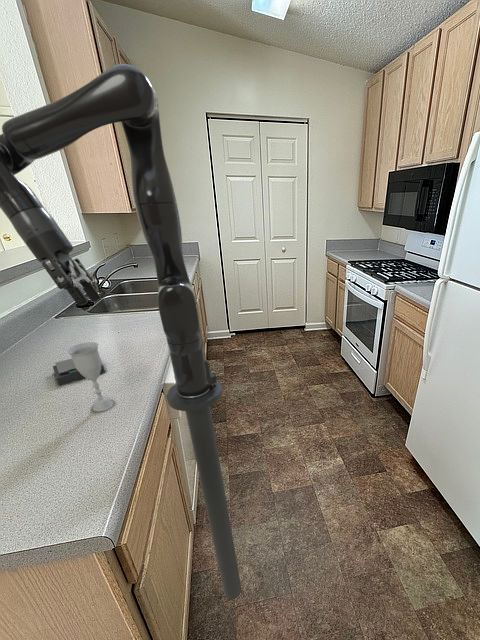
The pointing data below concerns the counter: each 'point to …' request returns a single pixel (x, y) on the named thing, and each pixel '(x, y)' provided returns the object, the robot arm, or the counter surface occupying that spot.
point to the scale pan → (65, 366)
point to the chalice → (90, 370)
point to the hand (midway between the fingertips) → (90, 302)
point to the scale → (70, 375)
